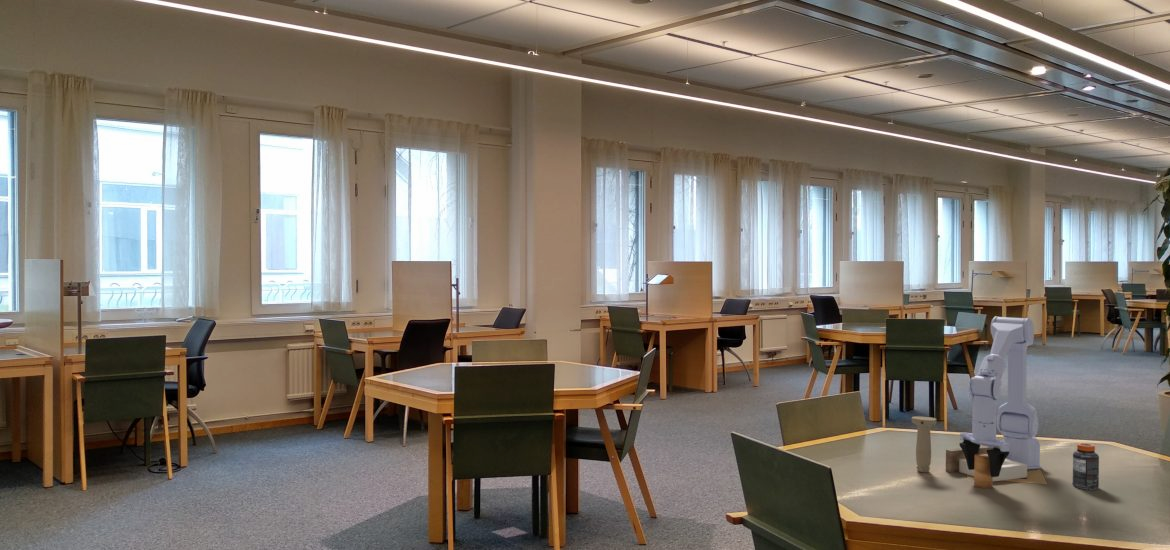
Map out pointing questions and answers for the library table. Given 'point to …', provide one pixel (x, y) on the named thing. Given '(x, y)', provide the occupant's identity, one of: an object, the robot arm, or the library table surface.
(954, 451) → the wall
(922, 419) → the handle
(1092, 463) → the pill bottle
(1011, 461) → the socket block
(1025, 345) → the robot arm
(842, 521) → the library table surface
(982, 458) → the dowel
